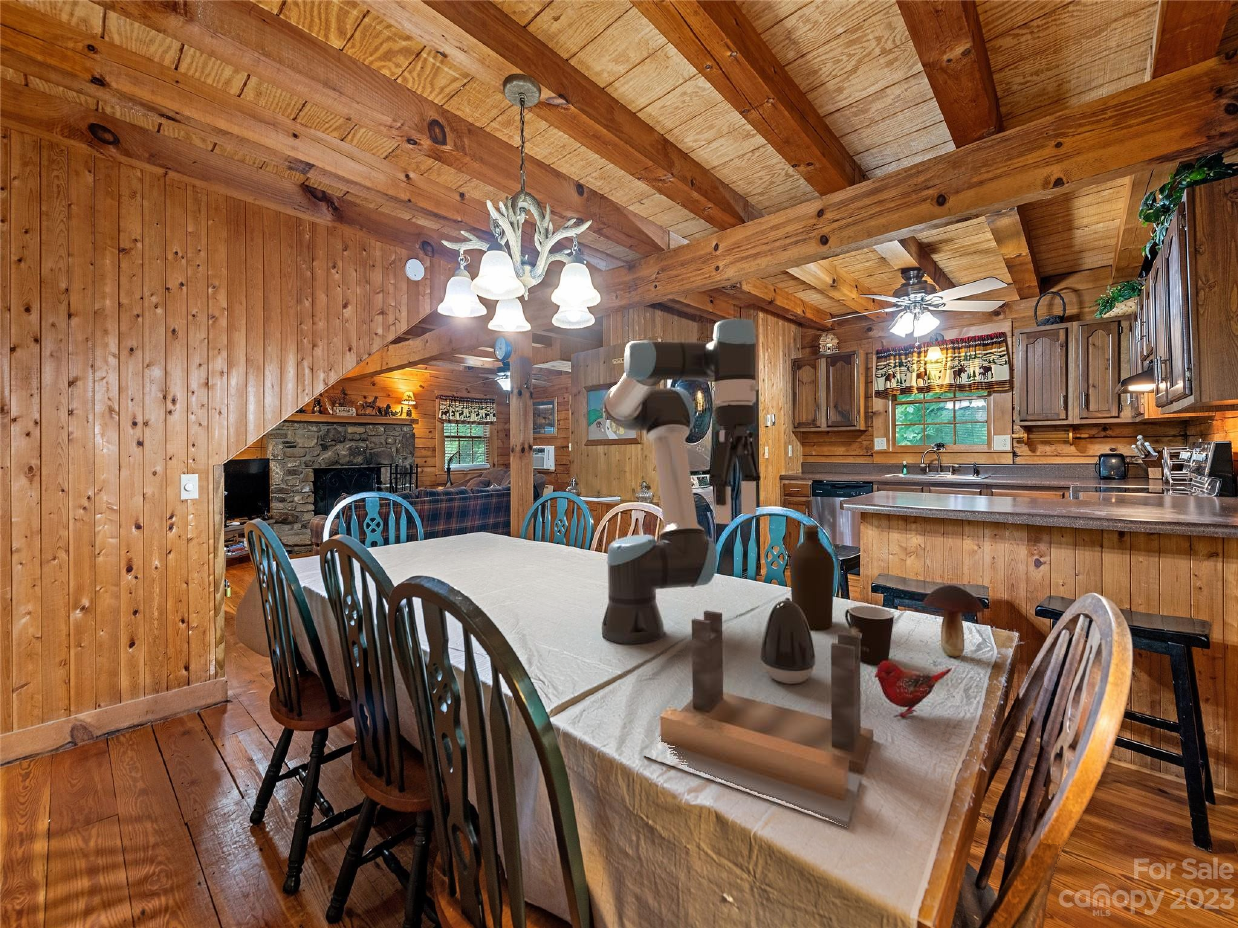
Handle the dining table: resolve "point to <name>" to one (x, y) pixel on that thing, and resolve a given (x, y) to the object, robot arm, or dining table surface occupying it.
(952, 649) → the decorative mushroom
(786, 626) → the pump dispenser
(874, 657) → the coffee mug
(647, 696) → the dining table surface
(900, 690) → the decorative bird figurine
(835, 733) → the rail stand
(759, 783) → the rubber mat
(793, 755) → the copper rail
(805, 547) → the olive oil
